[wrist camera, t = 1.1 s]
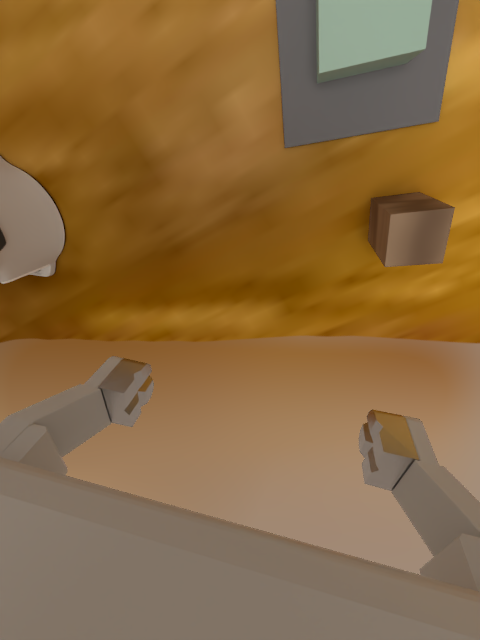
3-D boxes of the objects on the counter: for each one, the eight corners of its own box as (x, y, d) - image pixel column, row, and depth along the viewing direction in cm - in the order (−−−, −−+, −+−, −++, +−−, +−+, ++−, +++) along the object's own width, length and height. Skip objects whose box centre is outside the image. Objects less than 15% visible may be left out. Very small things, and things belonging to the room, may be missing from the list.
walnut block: (367, 240, 35) (384, 266, 28) (371, 198, 33) (390, 214, 25) (412, 236, 34) (442, 263, 27) (419, 192, 32) (454, 207, 24)
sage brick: (316, 83, 28) (319, 73, 24) (315, -36, 24) (317, -74, 20) (406, 63, 26) (425, 48, 22) (421, -71, 22) (448, -119, 18)
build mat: (285, 147, 32) (284, 148, 31) (270, -90, 23) (270, -96, 23) (436, 121, 28) (438, 121, 28) (484, -172, 20) (489, -180, 19)
